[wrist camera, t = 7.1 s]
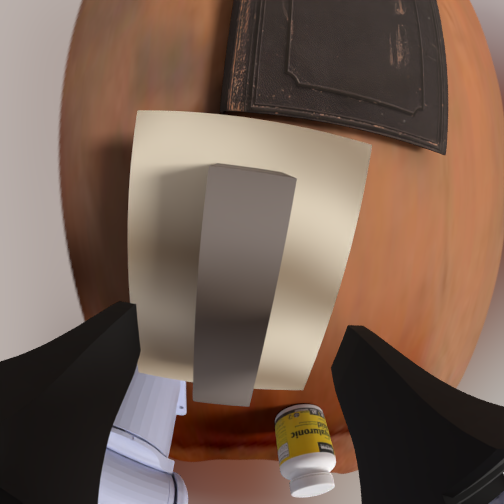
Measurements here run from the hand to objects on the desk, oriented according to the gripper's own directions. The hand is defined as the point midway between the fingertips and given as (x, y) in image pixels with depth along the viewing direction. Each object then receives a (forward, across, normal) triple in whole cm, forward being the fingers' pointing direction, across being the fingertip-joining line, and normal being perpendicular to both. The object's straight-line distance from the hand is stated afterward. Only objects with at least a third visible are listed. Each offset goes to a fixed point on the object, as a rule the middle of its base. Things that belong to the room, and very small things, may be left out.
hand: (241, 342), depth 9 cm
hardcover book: (+11, -5, -20) cm, 24 cm away
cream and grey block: (+5, 0, 0) cm, 5 cm away
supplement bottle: (+11, -8, +19) cm, 23 cm away
